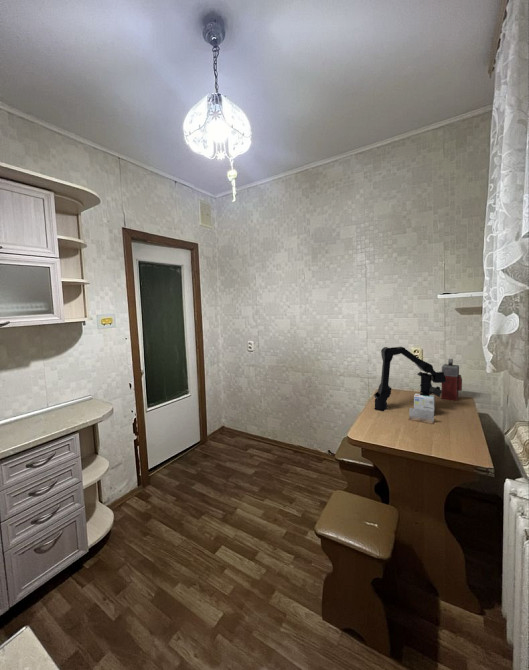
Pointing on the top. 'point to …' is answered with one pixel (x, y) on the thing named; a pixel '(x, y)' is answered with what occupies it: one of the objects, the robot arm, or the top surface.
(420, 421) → the shelf plank
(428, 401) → the light bulb box
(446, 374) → the red thermos jug
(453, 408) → the top surface
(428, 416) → the grey thin panel
